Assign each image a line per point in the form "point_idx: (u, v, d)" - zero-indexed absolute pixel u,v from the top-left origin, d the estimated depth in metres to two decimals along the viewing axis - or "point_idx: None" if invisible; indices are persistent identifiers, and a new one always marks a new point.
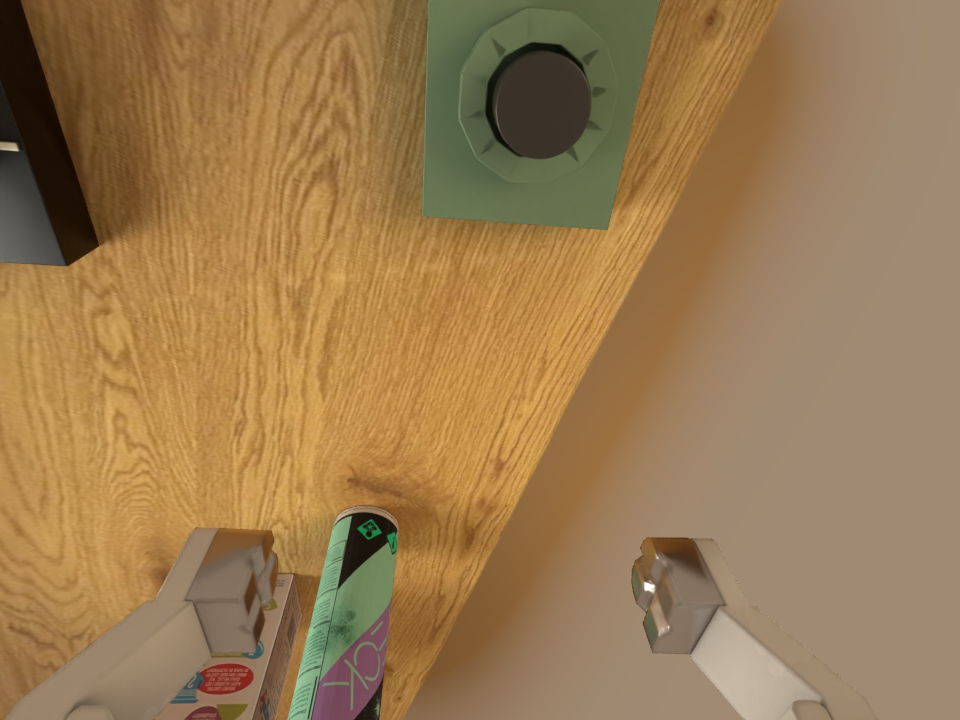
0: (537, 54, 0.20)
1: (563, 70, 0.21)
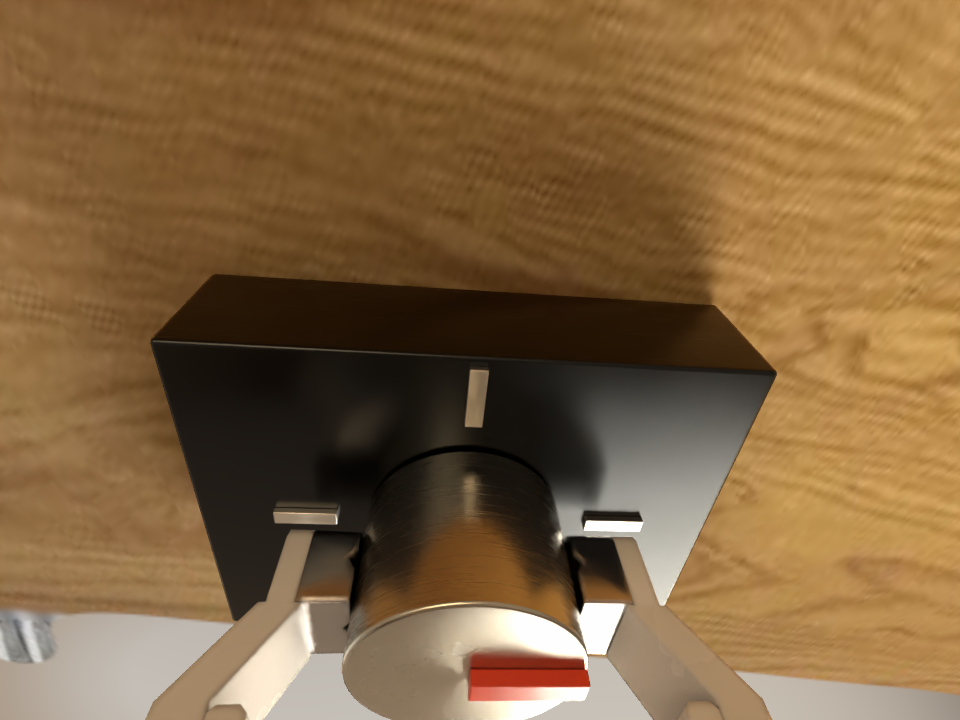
0: None
1: None
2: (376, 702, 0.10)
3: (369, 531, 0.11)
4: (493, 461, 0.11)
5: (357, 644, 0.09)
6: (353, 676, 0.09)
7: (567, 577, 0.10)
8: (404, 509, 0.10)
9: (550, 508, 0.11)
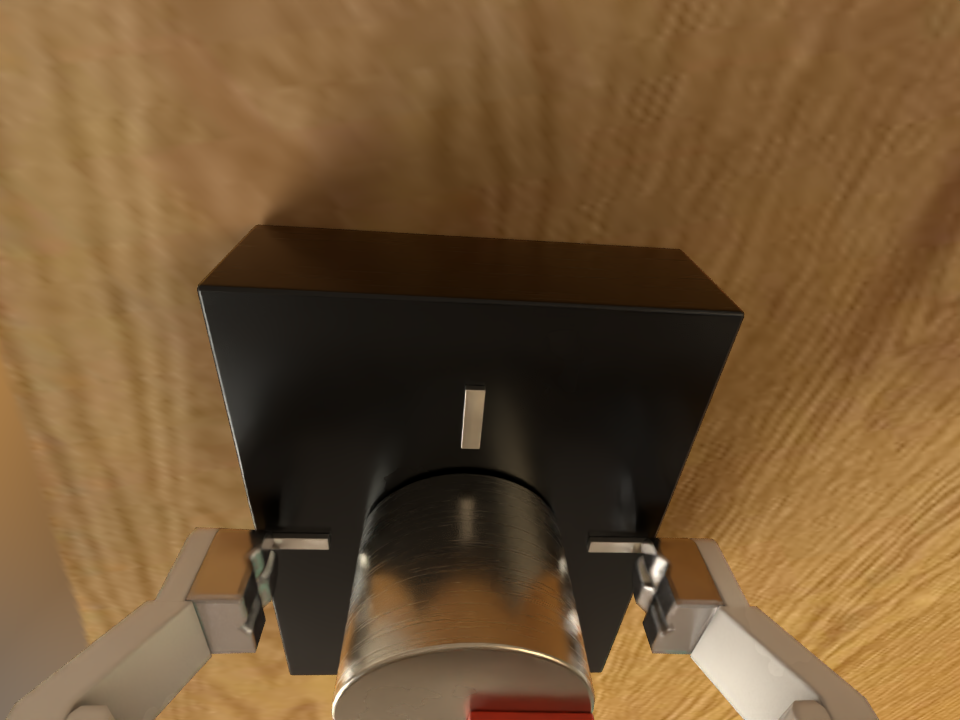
0: None
1: None
2: None
3: (364, 556, 0.10)
4: (498, 485, 0.10)
5: (351, 684, 0.08)
6: (343, 716, 0.08)
7: (574, 613, 0.09)
8: (403, 535, 0.09)
9: (556, 536, 0.10)
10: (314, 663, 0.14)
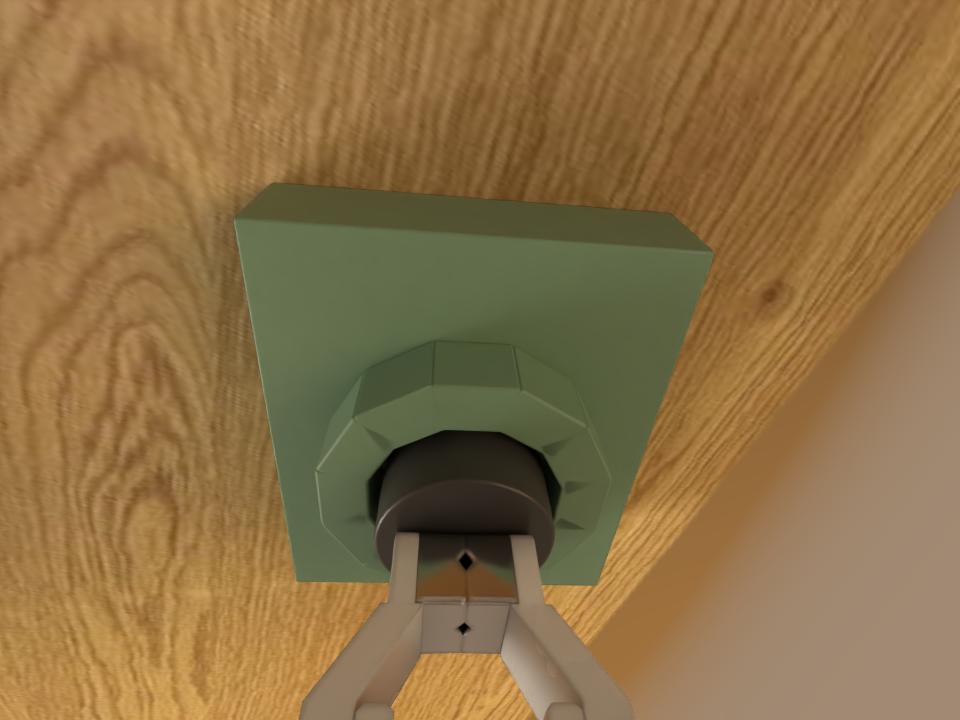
0: (445, 482, 0.10)
1: (498, 501, 0.11)
2: None
3: None
4: None
5: None
6: None
7: None
8: None
9: None
10: None
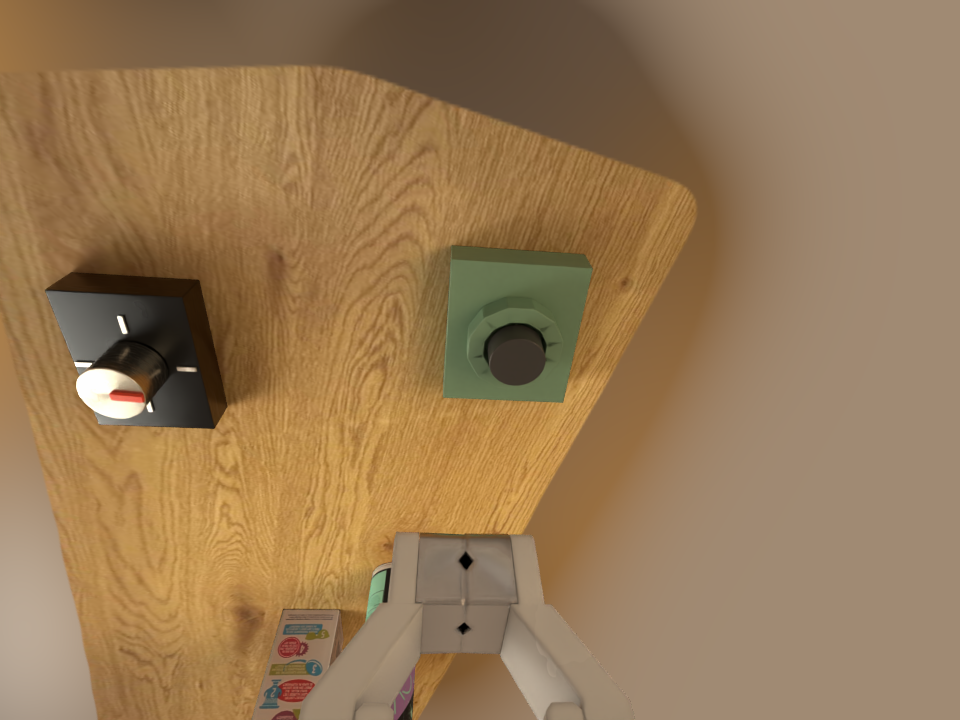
0: (513, 339, 0.35)
1: (528, 346, 0.36)
2: (89, 403, 0.36)
3: None
4: (135, 344, 0.37)
5: None
6: (80, 391, 0.36)
7: (144, 373, 0.36)
8: (103, 354, 0.37)
9: (153, 359, 0.38)
10: (106, 418, 0.41)
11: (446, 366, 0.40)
